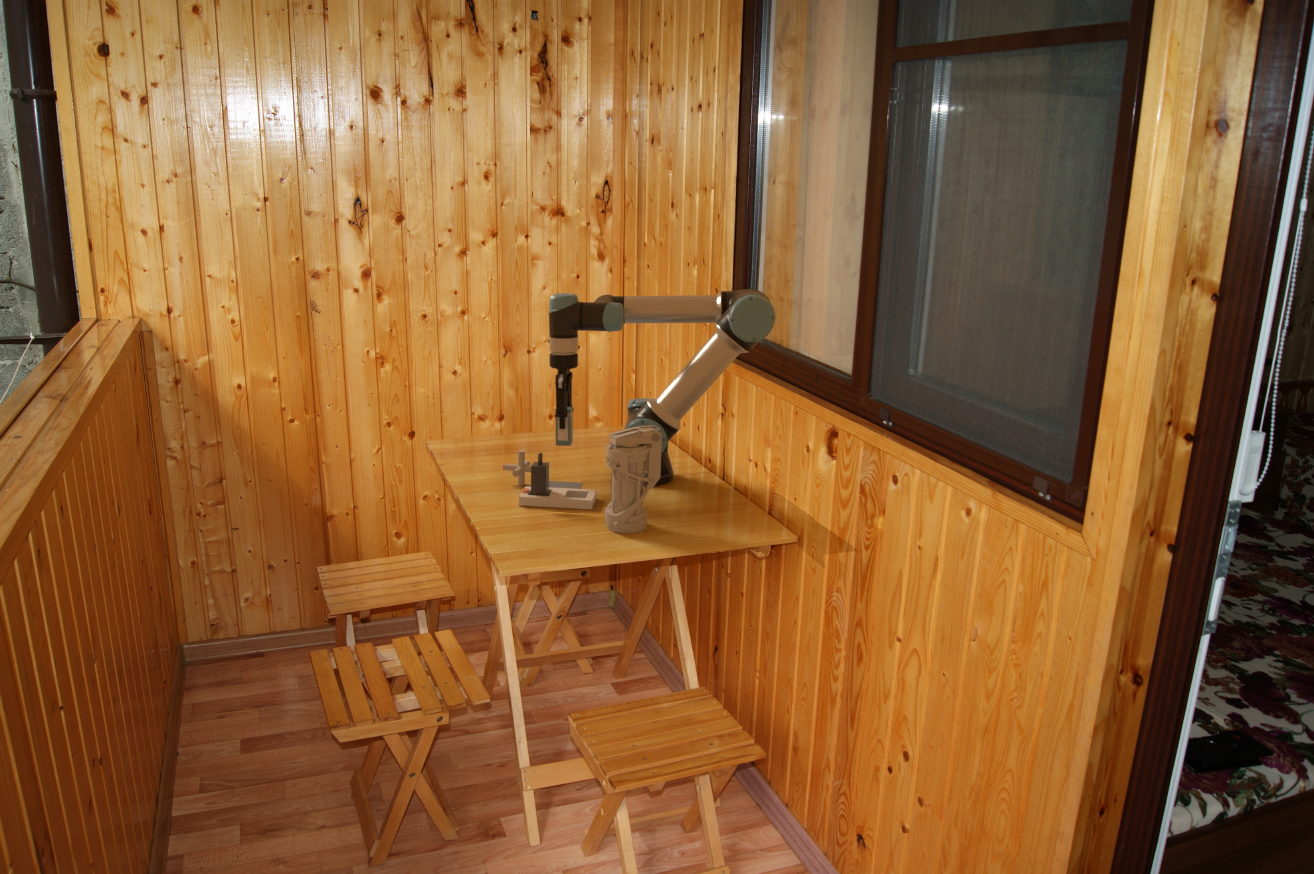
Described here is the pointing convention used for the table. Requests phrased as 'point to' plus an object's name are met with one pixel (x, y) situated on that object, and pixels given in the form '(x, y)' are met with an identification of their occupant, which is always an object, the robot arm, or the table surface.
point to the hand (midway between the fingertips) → (564, 437)
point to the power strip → (560, 498)
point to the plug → (570, 428)
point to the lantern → (632, 476)
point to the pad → (565, 484)
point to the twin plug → (540, 477)
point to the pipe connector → (519, 467)
